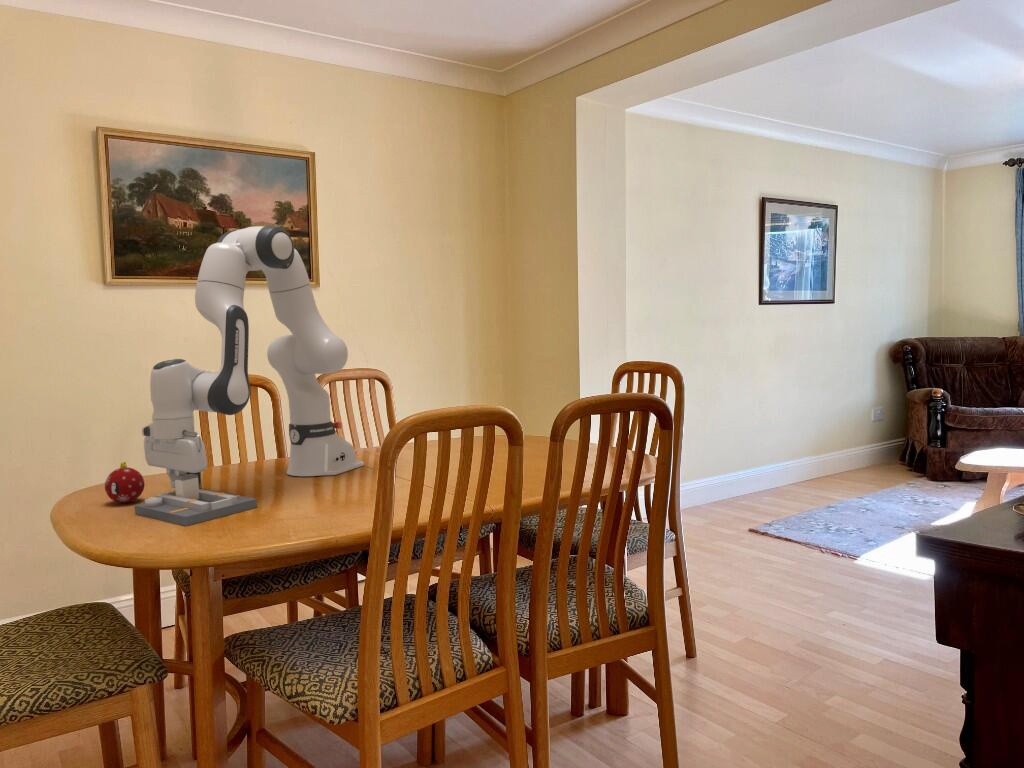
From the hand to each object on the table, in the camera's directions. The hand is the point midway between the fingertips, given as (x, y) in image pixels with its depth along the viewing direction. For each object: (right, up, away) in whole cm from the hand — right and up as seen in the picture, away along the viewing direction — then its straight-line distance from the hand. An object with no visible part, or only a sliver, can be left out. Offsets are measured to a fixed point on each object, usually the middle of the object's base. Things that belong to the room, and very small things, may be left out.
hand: (177, 487), depth 179 cm
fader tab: (+3, -3, -2) cm, 4 cm away
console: (+6, -5, -4) cm, 8 cm away
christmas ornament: (-15, -5, +6) cm, 17 cm away
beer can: (-3, -4, +15) cm, 16 cm away
